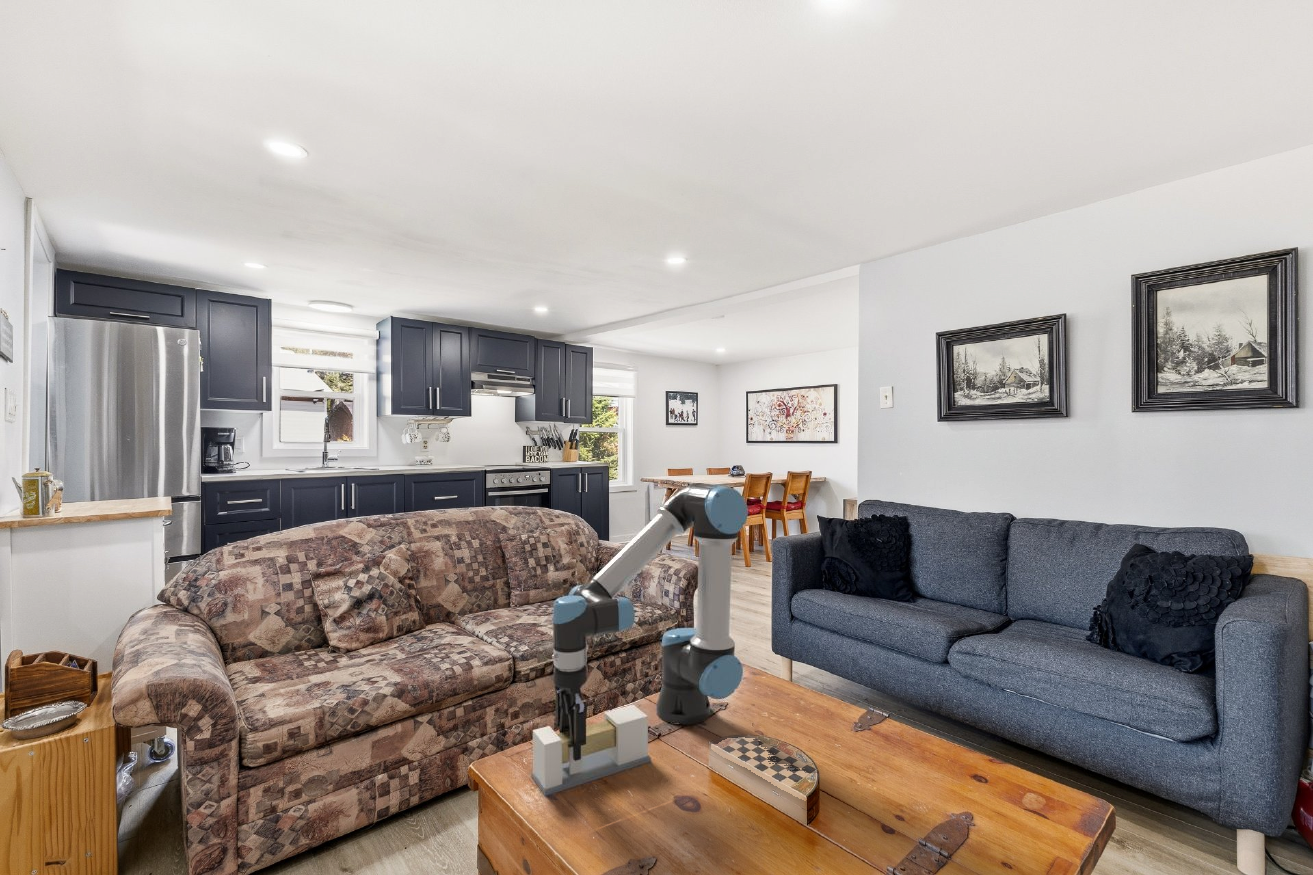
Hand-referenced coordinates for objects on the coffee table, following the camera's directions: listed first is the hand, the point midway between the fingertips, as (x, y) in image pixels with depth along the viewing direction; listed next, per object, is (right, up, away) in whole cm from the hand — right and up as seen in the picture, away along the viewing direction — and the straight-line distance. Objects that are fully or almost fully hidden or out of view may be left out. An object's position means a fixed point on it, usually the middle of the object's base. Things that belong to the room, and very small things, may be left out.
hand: (571, 766), depth 140 cm
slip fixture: (+5, -2, +3) cm, 6 cm away
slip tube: (+2, +3, +1) cm, 4 cm away
